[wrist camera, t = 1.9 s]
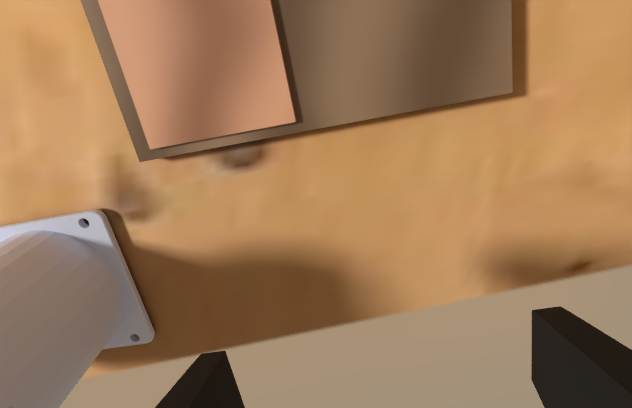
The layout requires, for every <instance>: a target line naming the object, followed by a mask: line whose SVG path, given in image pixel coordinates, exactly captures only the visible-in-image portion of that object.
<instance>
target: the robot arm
mask: <svg viewBox="0 0 632 408" xmlns="http://www.w3.org/2000/svg"><path fill="white" fill-rule="evenodd" d="M83 218H85V219H86V220H88V222H89V225H88V224H86V223H85V222H84V221H83ZM134 334H136V335H138V336H139V337H137V336H135V335H134ZM154 336H155V331H154V329H153V326H152V324H151V322H150V319H149V317H148V314H147V312H146V310H145V307H144V305H143V302H142V300H141V298H140V295H139V293H138V290H137V288H136V286H135V283H134V281H133V278H132V276H131V274H130V271H129V269H128V267H127V264H126V262H125V259H124V257H123V255H122V252H121V250H120V247H119V245H118V243H117V240H116V238H115V235H114V233H113V231H112V228H111V226H110V223H109V221H108V219H107V217H106V215H105V214H104V213H103V212H102V211H100V210H97V209H93V210H87V211H81V212H76V213H70V214H64V215H59V216H53V217H47V218H42V219H36V220H30V221H24V222H19V223H13V224H7V225H2V226H0V408H59V407H60V405H61V404H62V403H63V401H64V400H65V399H66V397H67V396H68V395H69V393H70V392H71V391H72V389H73V388H74V387H75V385H76V384H77V383H78V381H79V380H80V379H81V377H82V376H83V375H84V373H85V372H86V371H87V369H88V368H89V367H90V365H91V364H92V363H93V361H94V360H95V359H96V357H97V356H98V355H99V353H100V352H101V351H102V350H103V349H110V348H117V347H124V346H132V345H139V344H146V343H150V342H151V341H152V340H153V338H154ZM532 381H533V384H534V386H535V388H536V390H537V392H538V394H539V397H540V399H541V401H542V403H543V405H544V407H545V408H632V350H631V349H629V348H627V347H626V346H624V345H623V344H621V343H619V342H618V341H616V340H615V339H613V338H611V337H610V336H608V335H606V334H604V333H603V332H601V331H600V330H598V329H597V328H595V327H593V326H592V325H590V324H589V323H587V322H585V321H584V320H582V319H581V318H579V317H577V316H575V315H574V314H572V313H571V312H569V311H567V310H565V309H564V308H562V307H553V308H545V309H538V310H532ZM155 408H245V407H244V404H243V401H242V399H241V395H240V392H239V390H238V387H237V384H236V381H235V378H234V375H233V372H232V369H231V367H230V364H229V361H228V358H227V355H226V352H225V351H220V352H212V353H205V354H201V355H200V356H199V357H198V358H197V359H196V360H195V362H194V363H193V364H192V365H191V366H190V367H189V369H188V370H187V371H186V372H185V373H184V374H183V376H182V377H181V378H180V379H179V380H178V381H177V383H176V384H175V385H174V386H173V387H172V389H171V390H170V391H169V392H168V394H166V396H165V397H164V398H163V399H162V400H161V401H160V403H159V404H158V405H157V406H156V407H155Z"/></svg>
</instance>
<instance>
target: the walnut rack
mask: <svg viewBox="0 0 632 408" xmlns="http://www.w3.org/2000/svg"><path fill="white" fill-rule="evenodd" d="M81 2H82V5H83V8H84V11H85V13H86V16H87V19H88V22H89V24H90V27H91V30H92V33H93V35H94V38H95V41H96V44H97V46H98V49H99V52H100V54H101V57H102V60H103V63H104V65H105V68H106V71H107V74H108V76H109V79H110V82H111V85H112V87H113V90H114V93H115V96H116V98H117V101H118V104H119V107H120V109H121V112H122V115H123V118H124V120H125V123H126V126H127V128H128V131H129V134H130V137H131V139H132V142H133V145H134V148H135V150H136V153H137V156H138V159H139V161H140V162H142V161H148V160H153V159H158V158H164V157H169V156H174V155H180V154H185V153H191V152H196V151H201V150H207V149H212V148H217V147H223V146H228V145H234V144H239V143H244V142H250V141H255V140H260V139H266V138H271V137H277V136H282V135H287V134H293V133H298V132H304V131H309V130H314V129H320V128H325V127H330V126H336V125H341V124H347V123H352V122H357V121H363V120H368V119H373V118H379V117H384V116H390V115H395V114H400V113H406V112H411V111H417V110H422V109H427V108H433V107H438V106H443V105H449V104H454V103H460V102H465V101H470V100H476V99H481V98H486V97H492V96H497V95H503V94H508V93H513V83H512V2H511V0H81Z"/></svg>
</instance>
